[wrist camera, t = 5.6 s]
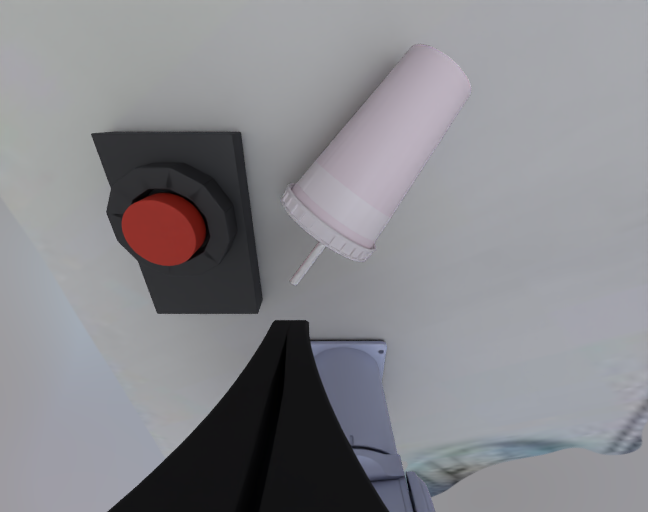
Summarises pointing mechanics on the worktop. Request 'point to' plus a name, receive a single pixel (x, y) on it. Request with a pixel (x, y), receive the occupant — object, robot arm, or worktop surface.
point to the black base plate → (210, 200)
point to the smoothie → (377, 156)
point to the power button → (164, 228)
